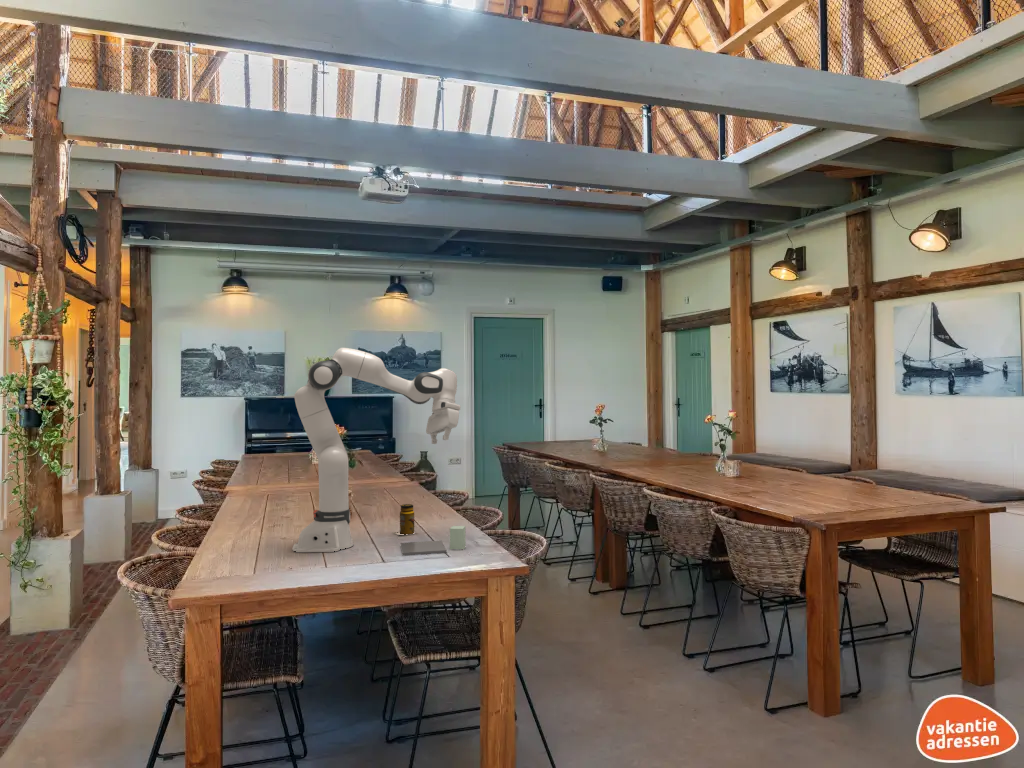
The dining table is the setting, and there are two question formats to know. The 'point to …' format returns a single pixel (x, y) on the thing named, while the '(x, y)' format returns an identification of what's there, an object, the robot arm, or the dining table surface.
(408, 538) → the dining table surface
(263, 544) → the dining table surface
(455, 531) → the block
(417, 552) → the board
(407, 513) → the condiment
